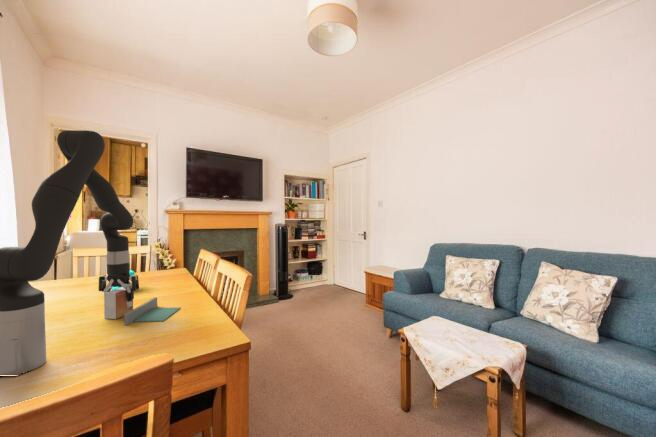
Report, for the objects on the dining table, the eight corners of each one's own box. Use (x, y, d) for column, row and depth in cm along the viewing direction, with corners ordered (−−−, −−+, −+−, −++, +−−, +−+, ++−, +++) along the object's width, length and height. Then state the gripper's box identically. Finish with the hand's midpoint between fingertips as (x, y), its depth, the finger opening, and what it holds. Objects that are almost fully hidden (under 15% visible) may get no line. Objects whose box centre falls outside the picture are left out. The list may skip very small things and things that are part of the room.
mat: (163, 321, 108) (163, 320, 107) (133, 321, 107) (133, 320, 107) (180, 308, 121) (180, 307, 121) (154, 308, 121) (154, 307, 121)
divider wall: (127, 325, 104) (127, 314, 104) (124, 325, 104) (124, 314, 104) (157, 306, 124) (157, 297, 124) (154, 306, 124) (154, 297, 124)
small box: (115, 319, 109) (115, 293, 108) (103, 318, 110) (103, 292, 109) (133, 312, 117) (133, 287, 116) (122, 311, 118) (122, 286, 117)
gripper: (92, 263, 108) (94, 304, 109) (130, 263, 109) (131, 304, 110) (106, 259, 116) (107, 298, 117) (142, 259, 117) (143, 297, 117)
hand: (119, 301), depth 113 cm, fingers open, 8 cm apart
